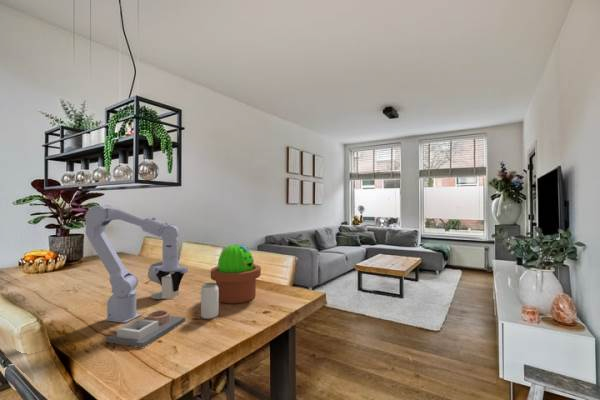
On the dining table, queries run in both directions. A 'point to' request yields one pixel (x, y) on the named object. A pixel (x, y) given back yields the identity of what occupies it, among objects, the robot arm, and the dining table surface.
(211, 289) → the can
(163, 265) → the robot arm
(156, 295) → the chalice
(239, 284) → the potted cactus
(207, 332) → the dining table surface
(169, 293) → the square peg
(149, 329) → the socket board
